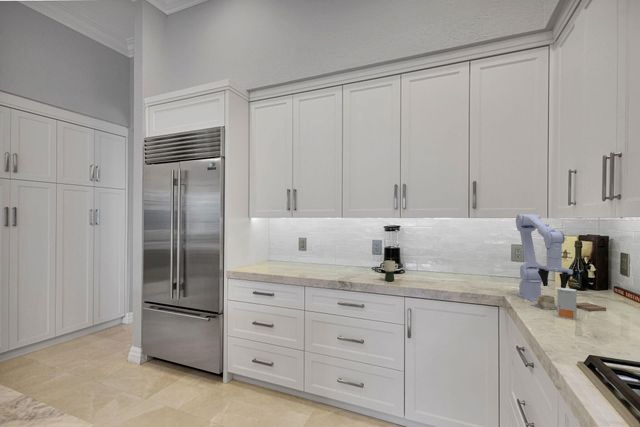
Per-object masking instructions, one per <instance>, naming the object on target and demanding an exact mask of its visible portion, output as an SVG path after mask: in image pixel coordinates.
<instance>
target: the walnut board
mask: <svg viewBox="0 0 640 427" xmlns="http://www.w3.org/2000/svg"><path fill="white" fill-rule="evenodd" d="M576 309H579V310H583V311H586V312H591V313H592V312H606V311H607V307H605V306H601V305H598V304H593V303H590V302H576Z"/></svg>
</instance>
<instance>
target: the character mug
mask: <svg viewBox="0 0 640 427" xmlns="http://www.w3.org/2000/svg"><path fill="white" fill-rule="evenodd" d="M380 268H381V269H382V270H383V271H385V275H384V280H385V281H387V282H388V281H389V282H392V281H395V273H394V272H395V271H396V270H398V269H399V264H398V263H396V261H395V260H383V263H381V267H380Z"/></svg>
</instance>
